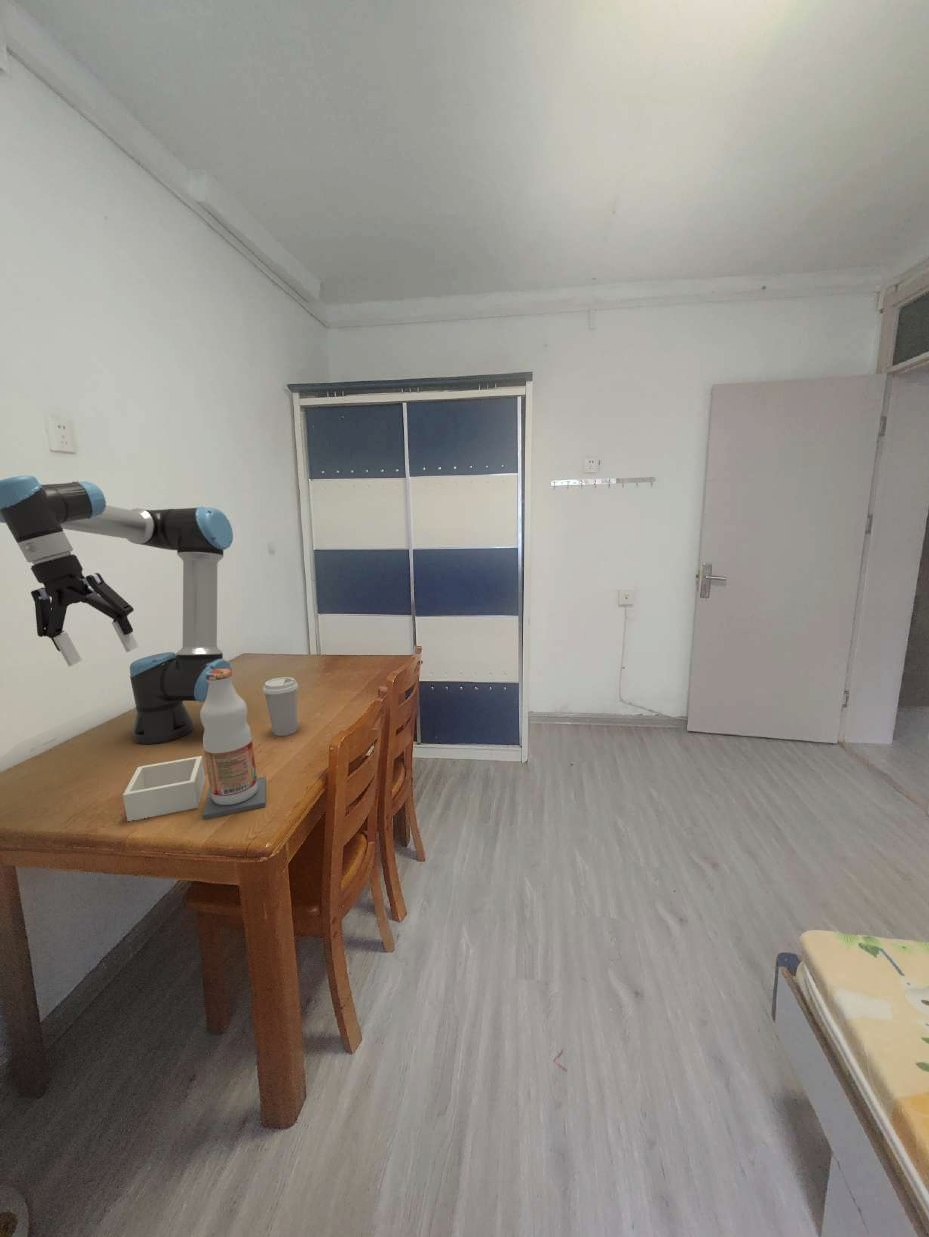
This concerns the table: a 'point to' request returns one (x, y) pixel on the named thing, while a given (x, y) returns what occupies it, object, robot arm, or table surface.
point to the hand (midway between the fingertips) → (103, 656)
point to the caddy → (164, 788)
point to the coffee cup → (282, 705)
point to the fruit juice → (227, 741)
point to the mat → (249, 804)
